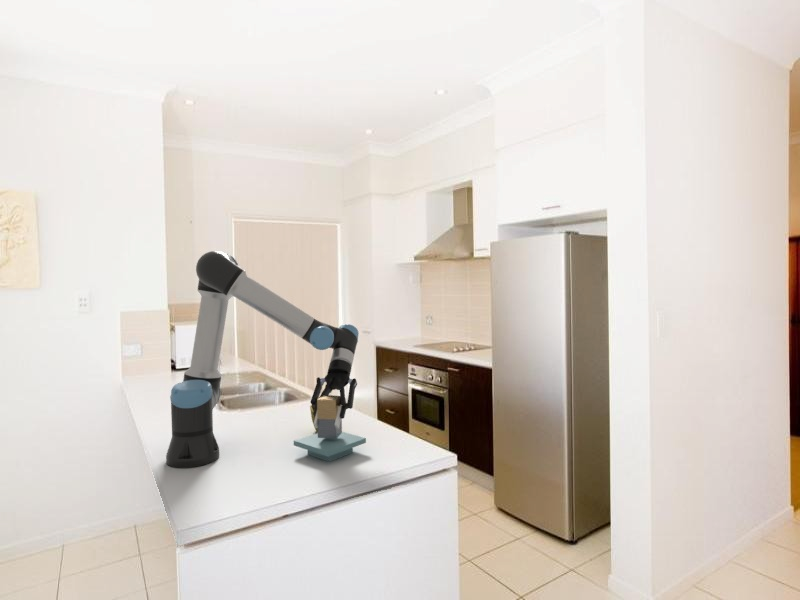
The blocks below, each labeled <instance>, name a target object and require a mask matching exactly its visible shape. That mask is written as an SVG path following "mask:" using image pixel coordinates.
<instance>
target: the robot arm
mask: <svg viewBox="0 0 800 600" xmlns="http://www.w3.org/2000/svg"><path fill="white" fill-rule="evenodd" d="M195 271H196V276H197V277H198V284H197V291H198V293H199V294H200V295H201V296H200V305H199V309H198V315H197V316H198V317H197V322H196V323H197V324H196V329H195V330H196V331H195V335H194V342H193V348H192V355H191V359H190V360H191V361H190V367H189V368H188V369H186V370H185V371H184V374H183V380H182V382H178V383H176V384H175V385H173V386H172V388H171V391H170V392H171V393H170V396H169V397H170V398H169V399H170V407H171V412H170V413H171V414H170V415H171V417H170V418H171V438H170V439H171V440H170V443H169V445H168V450H167V452H166V455H165V457H166V458H165V459H166V460H165V462H166V465H167V466H169V467H172V468H178V469H181V468H183V469H186V468H195V467H201V466H205V465H208V464H211V463H213V462H215V461H216V460H218V459H219V458H220V446H219V444H218V442H217V439H216V437H215V434H214V429H213V428H214V426H213V425H214V424H213V423H214V419H213V415H214V414H213V410H214V409H215V407H216V406H217V404H218V402H219V401H220V398H221V381H222V374H221V373H220V371H219V362H220V357H221V351H222V343H223V337H224V330H225V325H226V318H227V312H228V306H229V300H230V299H232V298H233V297H235V298H236V299H238V300H239V301H241V302H243V303H244V304H245V305H247V306H249V307H250V308H252V309H253V310H255V311H257V312H259V313H260V314H262V315H264V316H266V318H268V319H270V320H272V321H273V322H275V323H277V324H278V325H280V327H282V328H285V329H286V330H288V331H289V332H291V333H293V334H294V335H296V336H297V337H299V338H301V339H302V340H303V341H305V342H306V343H308V344H310V345H311V346H312V347H313V348H314V349H316V350H319V351H324V350H325V351H326V350H327V349H329V348H330V349H331V350H332V354H331V357H330V362H329V366H328V368H327V369H328V370H327V373H326V375H325V376H324V377H323V378H321V377H317V378H316V384H315V387H314V390H313V394H312V396H311V399H310V404H311V405H312V407H315V409H314V413H313V415H314V417H315V420H314V424H313V427H314V426H315V427H314V429H315V428H318V422H317V399H319V398H320V397H322V396H323V395H331V394H330V393H332V392H333V391H335V390H337V391H339V396H341V405H342V407H341V406H339V407H338V412H337V416H336V420H335V427H336V429H339V426H340V422H341V419H342V420H344V419H345V416H346V412H347V410H349V409H350V410H351V409H353V407H354V399H355V391H356V387H357V386H358V381H357V379H356V378H350V376H351V372H352V366H353V363H354V357H355V353H356V349H357V345H358V342H359V330H358V328H357V327H355V326H354V325H353V324H346V323H344V324H342V325H340V326H339V327H336V326H333V325H330V324H328V323H325V322H322V321H319V320H318V319H315V317H312V316H311V315H309V314H308V313H306V312H305V311H303V310H302V309H300V308H299V307H297V306H296V305H294V304H292V303H291V302H289V301H288V300H286V299H284V298H283V297H281V296H280V295H278V294H277V293H276V292H273V291H272V290H270V289H269V288H267V287H266V286H265V285H262V284H261V283H259V282H257V281H256V280H255V279H253V278H251V277H250V276H248V275H247V273H246V269H244V268H242V267H240V266H239V263H238V262H237V260H236V259H235V257H233V256H231V254H229V253H225V252H223V251H219V250H212V251H208V252H206V253H204V254H203V255H201V257H199V259H198V260H197V262H196V266H195ZM325 383H326V384H325ZM324 384H325V387H324V389H323V390H322V388H323V386H324ZM347 385H349V388H348V395H347V401H346V392H345V387H347ZM311 405H310V406H311Z"/></svg>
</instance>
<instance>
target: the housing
mask: <svg viewBox="0 0 800 600" xmlns="http://www.w3.org/2000/svg"><path fill="white" fill-rule="evenodd" d="M319 397H320V396H319ZM339 406H341V407H342V405H341V396H340V395H331V394H329V395H323V396H322V397H320V398H319V399H317V422H318V438H331V439H337V438H338V436H339V435H340V434H341V433H342V432H343V419H341V422H340V426H339V429H336V427H335V420H336V416H337V412H338V407H339Z"/></svg>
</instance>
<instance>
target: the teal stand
mask: <svg viewBox="0 0 800 600" xmlns="http://www.w3.org/2000/svg"><path fill="white" fill-rule="evenodd" d="M366 443H367V439H366V437H363V436H359V435H356V434H352V433H349V432H344V431H342V433H341V434H340V435H339V436H338V438H337V439H331V438H318V433H317V432H316V433H313V434H311V435H307V436H304V437H301V438H298V439H295V440H293V446H295V447H298V448H301V449H304V450H307V455H310V456H311V457H315V458H318V459H320V460H324V461H326V462H331V461H334V460H337V459H340V458H342V457H344V456H347V455H349V454H352V453H354V452H353V451H354V450H353V449H354V448H355V447H358V446H361V445H364V444H366Z"/></svg>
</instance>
